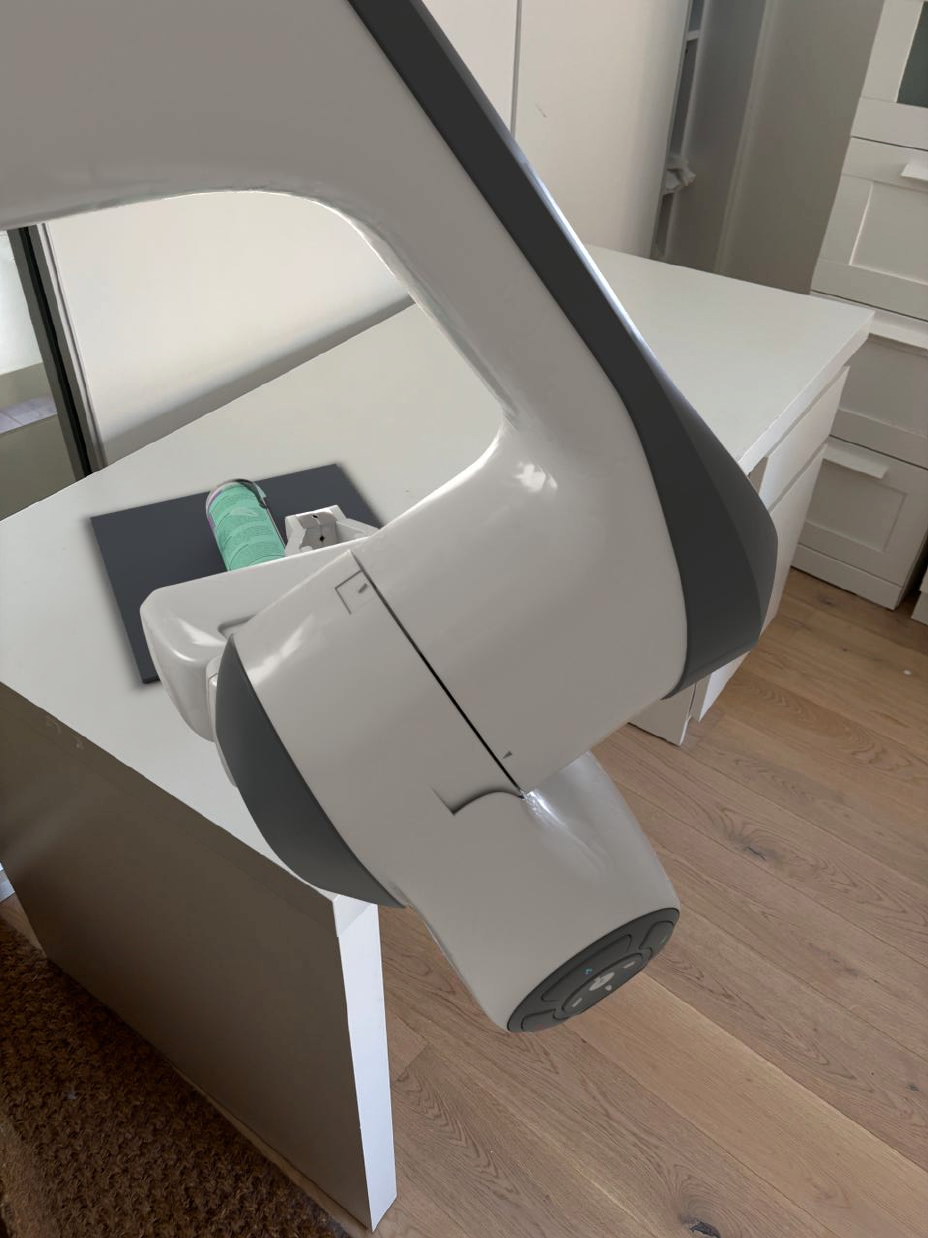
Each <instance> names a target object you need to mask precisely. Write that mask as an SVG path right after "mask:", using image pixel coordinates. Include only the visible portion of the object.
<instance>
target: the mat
mask: <svg viewBox="0 0 928 1238" xmlns="http://www.w3.org/2000/svg"><path fill="white" fill-rule="evenodd" d="M252 482H253V483H255V484H256V485H257V486H259V487H260V489H261V490H262V491H263V493H264V494H265V496H266V498H267V500H268V502H269V504H270V506H271V508H272V510H273V512H274V514H275V516H276V518H277V520H278V523H279V525H280V527H281V529H282V531H283V533H284V535H285V537H286V539H287V534H286V525H285V517H288V516H292V515H296V514H301V513H306V512H310V511H316V510H319V509H323V508H327V507H331V506H334V505H337V506H338V507H339V508H340V510H341V511H342V513H343V514H344V515H345V517H346V518H347V519H348V518H349V519H352V520H355V521H358V522H361V523H364V524H367V525H370V526H372V527H375V528H378V529H379V530H380V529H381V528H382V526H381V525H380V523H379V522H378V520H377V519H376V517H375V516H374V515H373V514H372V511H370V509H369V508H368V507H367V505H366V504H365V502H364V501H363V500H362V499H361V497H360V496H359V494H358V493H357V491H356V490H355V488H354V487H353V486H352V484H351V483H350V482H349V480H348V479H347V477H346V476H345V474H343V472H342V471H341V469H340V468H339V466H338V465H337V463H332V464H327V465H322V466H317V467H313V468H309V469H305V470H304V469H303V470H300V471H295V472H291V473H286V474H282V475H276V476H273V477H269V478H263V479H259V480H254V481H252ZM211 491H212V490H209V491H204V492H199V493H195V494H191V495H187V496H181V497H177V498H173V499H168V500H163V501H158V502H153V503H150V504H143V505H140V506H136V507H131V508H127V509H122V510H117V511H112V512H108V513H105V514H104V513H103V514H99V515H94V516H91V517H89V519H90V522H91V525H92V529H93V532H94V535H95V538H96V541H97V544H98V547H99V550H100V554H101V558H102V560H103V563H104V567H105V570H106V572H107V575H108V578H109V583H110V585H111V588H112V591H113V595H114V598H115V600H116V605H117V606H118V610H119V613H120V616H121V619H122V622H123V626H124V629H125V632H126V635H127V639H128V641H129V644H130V648H131V650H132V651H131V652H132V653H133V657H134V660H135V664H136V665H137V669H138V672H139V676H140V679H141V682H142V684H146V683H150V682H154V681H157V680H160V677H159V675H158V673H157V671H156V668H155V666H154V663H153V660H152V657H151V654H150V651H149V648H148V644H147V641H146V637H145V633H144V629H143V625H142V620H141V615H140V607H141V605H142V604H143V602H144V601H145V600H146V598H147V597H148V596H149V595H150V594H151V593H152V592H153V591H154V590H156V589H159V588H163V587H167V586H172V585H176V584H180V583H184V582H188V581H192V580H196V579H200V578H204V577H208V576H212V575H216V574H220V573H224V572H228V570H227V568H226V565H225V562H224V560H223V557H222V555H221V552H220V549H219V547H218V544H217V542H216V539H215V536H214V534H213V531H212V529H211V526H210V523H209V521H208V518H207V513H206V501H207V497H208V496H209V494H210V492H211ZM287 541H288V539H287Z"/></svg>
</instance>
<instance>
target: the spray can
mask: <svg viewBox="0 0 928 1238" xmlns="http://www.w3.org/2000/svg"><path fill="white" fill-rule="evenodd" d="M253 482H254V481H251V480H249V479H246V478H239V477H238V478H230V479H226V480H224V481H222V482H220V483H218V484H217V485H216V486H215V487H213V488H212V489H211V490H210V491H211V492H210V494H209V496H208V497H207V501H206V513H207V518H208V521H209V523H210V526H211V529H212V531H213V534H214V536H215V539H216V542H217V544H218V547H219V549H220V552H221V555H222V557H223V560H224V562H225V565H226V568H227V570H228V571H232V570H236V569H240V568H244V567H248V566H252V565H256V564H260V563H264V562H268V561H272V560H276V559H280V558H284V557H285V555H284V551H285V548H286V546H287V543H288V541H287V539H286V537H285V535H284V533H283V531H282V529H281V527H280V525H279V523H278V520H277V518H276V516H275V514H274V512H273V510H272V508H271V506H270V504H269V502H268V500H267V498H266V496H265V494H264V493H263V491H262V490H261V489H260V487H259V486H257V485H256V484H255V483H253Z"/></svg>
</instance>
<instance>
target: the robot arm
mask: <svg viewBox="0 0 928 1238" xmlns="http://www.w3.org/2000/svg"><path fill="white" fill-rule="evenodd" d="M219 193H263V194H270V195H271V194H272V195H279V196H280V195H281V196H289V197H294V198H297V199H301V200H305V201H308V202H312V203H313V204H316V205H319V206H322V207H324V208H325V209H327V210H329V211H330V212H332V213H334V214H336V215H338V216H339V217H341V218H342V219H343V220H344V221H346V222H347V223H348V224H349V225H350V226H351V227H352V228H353V229H354V230H355V231H356V232H357V233H358V235H360V237H362V239H363V240H364V241H365V242H366V244H367V245H368V246H369V247H370V249H371V250H372V251H373V252H374V253H375V255H376V256H377V257H378V258H379V259H380V261H381V262H382V263H383V264H384V265H385V267H386V268H387V269H388V270H389V272H390V273H391V274H392V275H393V277H394V278H395V279H396V280H397V282H398V283H399V284H400V285H401V286H402V288H403V289H404V290H405V292H407V294H408V295H409V296H410V297H411V299H412V300H413V301H414V303H416V305H417V306H418V307H419V309H420V310H421V311H422V312H423V313H424V315H426V317H427V319H429V321H430V322H431V323H432V324H433V326H434V327H435V328H436V329H437V330H438V332H439V333H440V334H441V336H442V337H443V338H444V339H445V340H446V341H447V343H448V344H449V345H450V346H451V348H452V349H453V350H454V351H455V353H456V354H457V355H458V356H459V357H460V359H461V360H462V361H463V363H464V364H465V365H466V366H467V368H469V370H470V371H471V372H472V374H473V375H474V376H475V377H476V378H477V380H478V381H479V382H480V384H482V386H483V387H484V388H485V389H486V391H487V392H488V393H489V394H490V396H491V397H492V398H493V399H494V400H495V401H496V403H497V404H498V406H499V407H500V410H501V421H500V424H499V428H498V431H497V432H496V435H495V436H494V438H493V440H492V442H491V443H490V445H489V446H488V447H487V449H485V451H484V452H483V454H481V456H479V457H478V458H477V459H476V461H474V462H473V463H471V465H469V466H468V467H466V468H465V469H463V471H461V472H459V473H458V474H457V475H455V476H454V477H453V478H451V479H450V480H448V481H447V482H445V483H443V484H442V485H441V486H439V487H438V488H436V489H435V490H434V491H432V492H431V493H429V494H428V495H426V497H424V498H422V499H421V500H419V501H418V502H416V503H415V504H414V505H413V506H411V507H409V508H408V509H407V510H405V511H404V512H403V513H401V514H400V515H398V516H396V517H395V518H394V519H392V520H390V521H389V522H388V523H387V524H385V525H384V526H381V529H380V530H379V529H378V528H375V527H372V526H370V525H367V524H364V523H361V522H358V521H355V520H352V519H349V518H348V519H347V518H346V517H345V515H344V514H343V513H342V511H341V510H340V508H339V507H338V506H337V505H334V506H331V507H327V508H323V509H319V510H316V511H310V512H306V513H301V514H296V515H292V516H288V517H285V525H286V534H287V539H288V543H287V546H286V548H285V551H284V555H285V557H284V558H280V559H276V560H272V561H268V562H264V563H260V564H256V565H252V566H248V567H244V568H240V569H236V570H232V571H228V572H224V573H220V574H216V575H212V576H208V577H204V578H200V579H196V580H192V581H188V582H184V583H180V584H176V585H172V586H167V587H163V588H159V589H156V590H154V591H153V592H152V593H151V594H150V595H149V596H148V597H147V598H146V600H145V601H144V602H143V604H142V605H141V607H140V615H141V620H142V625H143V629H144V633H145V637H146V641H147V644H148V648H149V651H150V654H151V657H152V660H153V663H154V666H155V668H156V671H157V673H158V675H159V677H160V679H159V680H160V682H161V684H162V686H163V687H164V690H165V692H166V693H167V695H168V697H169V698H170V699H169V700H170V701H171V702H172V704H173V705H174V707H175V709H176V710H177V712H178V714H179V715H180V716H181V718H182V720H183V721H184V722H185V723H186V725H187V726H188V728H190V729H191V730H192V731H193V732H194V734H196V735H198V736H199V737H201V738H202V739H204V740H207V741H209V742H211V743H214V745H215V748H216V751H217V755H218V757H219V760H220V762H221V765H222V767H223V770H224V772H225V775H226V777H227V779H228V780H229V783H230V784H231V785H232V786H233V787H234V788H235V789H237V790H238V792H239V794H240V797H241V799H242V800H243V803H244V804H245V807H246V808H247V811H248V813H249V815H250V816H251V818H252V820H253V822H254V824H255V826H256V828H257V829H258V831H259V832H260V835H261V836H262V837H263V839H264V840H265V842H266V844H267V845H268V847H269V848H270V849H271V851H272V852H273V853H274V854H275V855H276V856H277V858H278V859H279V860H280V861H281V862H282V863H283V864H284V865H285V866H286V867H287V868H288V869H290V871H291V872H292V873H294V875H296V876H297V877H298V878H300V879H301V880H302V881H304V882H306V883H308V884H309V885H311V886H314V888H315V887H316V888H318V889H319V890H323V891H327V892H330V893H333V894H336V895H341V896H344V897H347V898H351V899H354V900H358V901H362V902H365V903H369V904H373V905H376V906H381V907H385V908H390V909H391V908H392V909H399V910H400V909H403V910H405V909H406V907H407V906H410V907H411V908H412V909H413V910H414V912H415V913H416V914H417V916H418V917H419V918H420V919H421V921H422V922H423V924H424V925H425V927H426V929H427V930H428V932H429V934H430V935H431V937H432V939H433V940H434V941H435V943H436V945H437V946H438V948H439V949H440V951H441V952H442V954H443V955H444V957H445V958H446V961H448V963H449V964H450V966H451V968H452V969H453V970H454V971H455V973H456V974H457V976H458V978H459V979H460V980H461V982H462V983H463V985H464V986H465V987H466V989H467V990H468V991H469V993H470V995H472V997H473V998H474V1000H475V1001H476V1002H477V1005H478V1006H479V1007H480V1008H481V1009H482V1011H483V1012H484V1014H486V1016H487V1017H488V1018H489V1020H491V1021H492V1023H494V1024H495V1025H496V1026H497V1027H498V1028H500V1029H501V1030H503V1031H504V1032H506V1033H512V1034H519V1033H537V1032H542V1031H544V1030H547V1029H551V1028H555V1027H556V1026H559V1025H562V1024H564V1023H565V1022H567V1021H568V1020H569V1019H571V1018H573V1017H575V1016H579V1015H582V1014H583V1013H585V1012H587V1011H588V1010H589V1009H591V1008H592V1007H594V1006H595V1005H597V1004H599V1003H600V1002H601V1001H603V1000H605V999H606V998H607V997H609V996H610V995H612V994H613V993H614V992H616V991H617V990H618V989H620V988H621V987H622V986H624V985H625V984H626V983H628V982H629V981H630V980H632V979H633V978H634V977H636V975H638V974H639V973H641V972H642V971H643V970H644V969H645V968H647V966H648V965H649V963H650V962H651V961H652V960H653V959H654V958H655V957H657V955H659V954H660V953H661V952H662V950H663V949H664V948H665V947H666V945H667V944H668V942H669V941H670V939H671V937H672V936H673V933H674V929H675V927H676V925H677V924H678V921H679V919H680V917H681V913H682V907H681V901H680V899H679V896H678V893H677V891H676V889H675V886H674V885H673V883H672V881H671V879H670V877H669V875H668V873H667V871H666V868H665V867H664V865H663V863H662V862H661V860H660V858H659V855H658V853H657V852H656V850H655V849H654V847H653V845H652V843H651V841H650V840H649V838H648V837H647V835H646V833H645V831H644V829H643V828H642V826H641V824H640V822H639V821H638V819H637V818H636V816H635V814H634V813H633V811H632V810H631V808H630V806H629V805H628V803H627V801H626V800H625V798H624V797H623V795H622V794H621V792H620V791H619V789H618V788H617V786H616V784H615V783H614V781H613V780H612V778H611V777H610V775H609V774H608V772H607V771H606V770H605V768H604V767H603V766H602V764H601V763H600V761H599V760H598V759H597V757H596V756H595V754H593V752H592V749H593V748H595V747H596V746H597V745H599V744H600V743H602V742H603V741H604V740H606V739H608V737H610V736H611V735H613V734H615V732H617V731H618V730H620V729H621V728H622V727H624V726H625V725H626V724H628V723H629V722H631V721H632V720H634V719H635V718H637V717H638V716H639V715H641V714H642V713H643V712H645V711H646V710H648V709H650V708H651V707H652V706H654V705H655V704H656V703H657V702H659V701H664V700H668V699H671V698H673V697H674V696H676V695H678V694H679V693H681V692H683V691H685V690H686V689H688V688H690V687H691V686H693V685H694V684H696V683H698V682H700V681H701V680H704V679H705V678H706V677H708V676H710V675H712V674H713V673H714V672H717V671H718V670H720V669H722V668H723V667H725V666H727V665H728V664H730V663H731V662H733V661H735V660H737V659H738V658H740V657H742V656H743V655H745V654H747V653H748V652H750V651H752V650H753V649H754V648H755V646H756V645H757V643H758V642H759V639H760V636H761V633H762V630H763V627H764V623H765V620H766V617H767V614H768V609H769V606H770V602H771V598H772V594H773V589H774V584H775V578H776V572H777V563H778V553H779V552H778V551H779V536H778V532H777V529H776V526H775V524H774V521H773V518H772V517H771V515H770V513H769V510H768V508H767V507H766V505H765V504H764V501H763V500H762V498H761V496H760V495H759V493H758V491H757V489H756V488H755V486H754V484H753V483H752V481H751V479H750V478H749V476H748V475H747V473H746V472H745V471H744V469H743V468H742V466H741V465H740V464H739V462H738V461H737V459H736V458H735V457H734V456H733V455H732V453H731V452H730V451H729V450H728V449H727V448H726V446H725V445H724V444H723V443H722V442H721V441H720V439H719V438H718V436H717V435H716V434H715V433H714V432H713V430H712V429H711V428H710V426H709V425H708V424H707V423H706V422H705V420H704V418H702V417H701V415H700V414H699V413H698V411H697V410H696V408H694V406H693V405H692V404H691V402H690V401H689V400H688V399H687V397H686V396H685V395H684V393H683V392H682V391H681V389H680V388H679V387H678V385H676V383H675V382H674V381H673V379H672V378H671V376H670V375H669V374H668V372H667V371H666V369H665V368H664V367H663V365H662V364H661V362H660V361H659V359H658V358H657V357H656V355H655V354H654V352H653V351H652V350H651V348H650V346H649V345H648V343H647V342H646V340H645V339H644V337H643V336H642V334H641V333H640V331H639V330H638V328H637V327H636V325H635V324H634V323H635V322H633V320H632V319H631V317H630V316H629V314H628V312H627V311H626V310H625V309H626V308H624V306H623V305H622V303H621V302H620V300H619V299H618V297H617V296H616V294H615V293H614V291H613V289H612V287H611V286H610V285H609V283H608V281H607V280H606V278H605V277H604V275H603V273H602V272H601V270H600V269H599V268H598V266H597V264H596V263H595V261H594V260H593V258H592V257H591V255H590V253H589V252H588V250H587V249H586V247H585V246H584V244H583V243H582V241H581V239H580V238H579V236H578V235H577V233H576V232H575V230H574V228H573V227H572V226H571V224H570V223H569V221H568V219H567V218H566V215H564V213H563V211H562V210H561V208H560V207H559V205H558V204H557V202H556V201H555V199H554V198H553V196H552V194H551V193H550V191H549V189H547V186H546V185H545V183H544V182H543V180H542V179H541V177H540V176H539V175H538V173H537V171H536V170H535V168H534V167H533V165H532V164H531V162H530V160H529V159H528V157H527V156H526V154H525V153H524V151H523V150H522V148H521V146H520V145H519V144H518V141H517V140H516V139H515V137H514V135H513V134H512V132H511V131H510V129H509V128H508V126H507V125H506V123H505V122H504V120H503V118H502V117H501V116H500V113H499V112H498V111H497V110H496V108H495V106H494V104H493V103H492V101H491V100H490V99H489V97H488V96H487V94H486V93H485V91H484V89H483V88H482V86H481V85H480V83H479V82H478V81H477V79H476V77H475V76H474V75H473V73H472V71H471V70H470V69H469V67H468V66H467V64H466V62H465V61H464V60H463V58H462V57H461V55H460V54H459V52H458V51H457V49H456V47H454V45H453V44H452V41H450V39H449V38H448V36H447V35H446V33H445V31H444V30H443V29H442V27H441V25H440V24H439V23H438V21H437V20H436V18H435V17H434V16H433V14H432V12H431V11H430V10H429V8H428V7H427V6H426V4H425V3H424V1H423V0H0V232H5V231H11V230H16V229H21V228H26V227H30V226H36V225H41V224H45V223H50V222H54V221H55V222H56V221H59V220H60V221H61V220H66V219H71V218H75V217H79V216H84V215H88V214H94V213H99V212H104V211H109V210H113V209H118V208H124V207H128V206H133V205H137V204H144V203H149V202H157V201H163V200H169V199H175V198H183V197H189V196H194V195H196V196H197V195H207V194H219Z"/></svg>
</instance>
